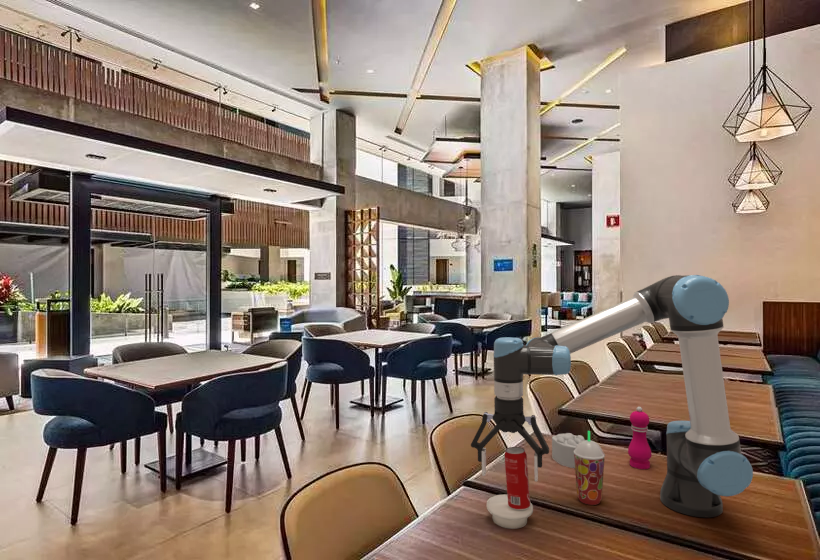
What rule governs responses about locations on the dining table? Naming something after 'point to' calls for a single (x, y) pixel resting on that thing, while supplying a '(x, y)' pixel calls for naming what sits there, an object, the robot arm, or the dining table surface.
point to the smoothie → (589, 471)
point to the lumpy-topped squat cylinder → (565, 448)
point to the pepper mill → (639, 440)
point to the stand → (507, 512)
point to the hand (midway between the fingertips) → (509, 476)
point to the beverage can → (517, 478)
